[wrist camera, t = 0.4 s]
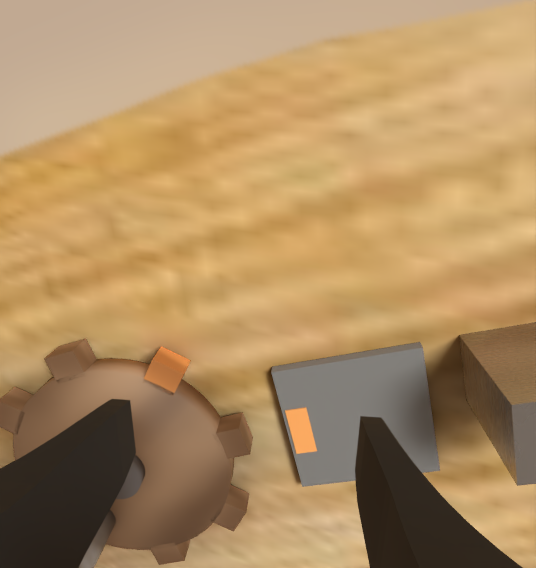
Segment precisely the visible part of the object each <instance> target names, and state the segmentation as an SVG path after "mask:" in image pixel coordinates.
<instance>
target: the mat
mask: <svg viewBox="0 0 536 568" xmlns="http://www.w3.org/2000/svg"><path fill="white" fill-rule="evenodd" d="M271 374H272V377H273V381H274V385H275V388H276V392H277V396H278V399H279V403H280V407H281V410H282V414H283V418H284V421H285V425H286V429H287V432H288V436H289V440H290V443H291V447H292V451H293V454H294V458H295V462H296V465H297V469H298V473H299V476H300V480H301V484H302V487H304V486H313V485H321V484H330V483H338V482H347V481H355V480H356V478H355V464H356V455H357V445H358V436H359V426H360V417H361V416H367V417H381V418H382V419H383V420H384V421H385V423H386V424H387V426H388V427H389V429H390V430H391V432H392V433H393V435H394V436H395V438H396V439H397V441H398V442H399V443H400V445H401V446H402V448H403V449H404V450H405V452H406V453H407V454H408V456H409V457H410V458H411V460H412V461H413V462H414V463H415V465H416V466H417V467H418V469H419V470H420V471H421V472H422V473H423V472H432V471H440V467H439V459H438V452H437V445H436V438H435V431H434V424H433V417H432V410H431V403H430V395H429V388H428V381H427V374H426V367H425V360H424V353H423V347H422V345H421V343H420V342H418V343H412V344H406V345H400V346H394V347H388V348H382V349H376V350H370V351H364V352H358V353H352V354H346V355H340V356H334V357H328V358H322V359H316V360H310V361H304V362H298V363H292V364H286V365H280V366H274V367H272V371H271Z"/></svg>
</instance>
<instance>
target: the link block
mask: <svg viewBox="0 0 536 568" xmlns="http://www.w3.org/2000/svg"><path fill="white" fill-rule="evenodd" d="M459 338H460V347H461V356H462V365H463V374H464V384H465V393H466V400H467V402H468V404H469V405H470V407H471V409H472V410H473V412H474V414H475V415H476V417H477V419H478V420H479V422H480V424H481V425H482V427H483V429H484V430H485V432H486V434H487V436H488V437H489V439H490V441H491V442H492V444H493V446H494V447H495V449H496V451H497V452H498V454H499V456H500V457H501V459H502V461H503V462H504V464H505V466H506V468H507V469H508V471H509V473H510V474H511V476H512V478H513V479H514V481H515V483H516V484H517V486H518V485H527V484H536V322H535V323H529V324H523V325H517V326H511V327H505V328H499V329H493V330H487V331H481V332H475V333H469V334H463V335H459Z"/></svg>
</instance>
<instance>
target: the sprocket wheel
mask: <svg viewBox="0 0 536 568" xmlns="http://www.w3.org/2000/svg"><path fill="white" fill-rule="evenodd" d="M44 360H45V362H46V363H47V365H48V367H49V369H50V371H51V372H52V374H53V376H54V377H52V378H51V379H50V380H49V381H48V382H47V383H46V384H44V385H43V386H42V387H41V388H40V389H39V390H38V391H37V392H36V393H35V394H34V395H32V394H30V393H28V392H26V391H23V390H21V389H19V388H17V387H14V388H13V389H11V390H10V391H9V392H8V393H7V394H6V395H4V396H3V397H2V398H1V399H0V427H1V428H3V429H5V430H7V431H10V432H12V433H14V436H13V449H14V457H15V461H16V460H17V459H19V458H21V457H22V456H24V455H26V454H27V453H29V452H31V451H32V450H34V449H36V448H37V447H39V446H40V445H42V444H44V443H45V442H47V441H49V440H50V439H52V438H53V437H55V436H57V435H58V434H60V433H61V432H63V431H64V430H65V429H67V428H68V427H70V426H71V425H73V424H74V423H76V422H77V421H79V420H80V419H82V418H83V417H85V416H86V415H88V414H89V413H91V412H92V411H94V410H95V409H96V408H98V407H99V406H101V405H103V404H104V403H106V402H107V401H109V400H111V399H122V400H130V403H131V412H132V421H133V430H134V439H135V448H136V454H135V457H134V459H133V462H132V465H131V467H130V470H129V472H128V475H127V477H126V480H125V482H124V484H123V486H122V488H121V490H120V492H119V494H118V496H117V497H116V499H115V501H114V503H113V505H112V507H111V508H110V510H109V512H108V514H107V516H106V517H105V519H104V521H103V523H102V525H101V527H100V528H99V530H98V532H97V534H96V536H95V537H94V539H93V541H92V543H91V545H90V546H89V548H88V550H87V552H86V554H85V556H84V558H83V560H82V562H81V564H80V566H79V568H94V566H95V564H96V562H97V560H98V558H99V556H100V554H101V552H102V550H103V548H104V546H105V544H107V545H111V546H115V547H120V548H126V549H137V550H151V551H152V553H153V555H154V556H155V558H156V560H157V562H158V564H159V565H161V564H167V563H173V562H179V561H184V560H185V557H186V554H187V550H188V547H189V543H190V539H192V538H194V537H196V536H198V535H199V534H200V533H202V532H203V531H205V530H206V529H207V528H208V527H209V526H210V525H211V524H212V523H216V524H218V525H220V526H222V527H225V528H227V529H229V530H231V531H234V530H235V529H236V527H237V526H238V524H239V522H240V521H241V519H242V518H243V516H244V515H245V513H246V510H247V504H248V498H249V493H247V492H245V491H243V490H241V489H239V488H237V487H234V486H232V485H230V484H231V479H232V475H233V467H234V457H239V456H244V455H248V454H250V451H251V445H252V440H253V436H252V434H251V431H250V429H249V426H248V424H247V421H246V419H245V417H244V414H243V412H242V413H237V414H233V415H229V416H224V417H220V415H219V414H218V413H217V411H216V410H215V408H214V407H213V406H212V405H211V404H210V402H209V401H208V400H207V399H206V398H205V397H204V396H203V395H202V394H201V393H200V392H198V391H197V390H196V389H195V388H194V387H193V386H191V385H190V384H188V383H187V382H185V381H184V380H182V377H183V375H184V373H185V371H186V369H187V367H188V365H189V363H190V361H191V360H189V359H187V358H185V357H182V356H180V355H178V354H176V353H174V352H172V351H170V350H168V349H166V348H164V347H161V348H160V349H159V351H158V352H157V353H156V355H155V356H154V358H153V359H152V361H151V364H146V363H143V362H139V361H133V360H127V359H112V358H108V359H96V357H95V355H94V353H93V351H92V349H91V347H90V345H89V344H88V342H87V340H86V339H83V340H79V341H76V342H72V343H69V344H66V345H62V346H59V347H57V348H56V349H55V350H54V351H53V352H52V353H50V354H49V355H48V356H47V357H46V358H44Z"/></svg>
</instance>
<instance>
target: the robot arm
mask: <svg viewBox="0 0 536 568" xmlns="http://www.w3.org/2000/svg"><path fill="white" fill-rule="evenodd" d="M135 454H136V448H135V439H134V430H133V421H132V412H131V403H130V400H122V399H111V400H109V401H107V402H106V403H104V404H103V405H101V406H99V407H98V408H96V409H95V410H94V411H92V412H91V413H89V414H88V415H86V416H85V417H83V418H82V419H80V420H79V421H77V422H76V423H74V424H73V425H71V426H70V427H68V428H67V429H65V430H64V431H63V432H61V433H60V434H58V435H57V436H55V437H53V438H52V439H50V440H49V441H47V442H45V443H44V444H42V445H40V446H39V447H37V448H36V449H34V450H32V451H31V452H29V453H27V454H26V455H24V456H22V457H21V458H19V459H17V460H16V461H14V462H12V463H10V464H8V465H6V466H5V467H3V468H1V469H0V568H79V566H80V564H81V562H82V560H83V558H84V556H85V554H86V552H87V550H88V548H89V546H90V545H91V543H92V541H93V539H94V537H95V536H96V534H97V532H98V530H99V528H100V527H101V525H102V523H103V521H104V519H105V517H106V516H107V514H108V512H109V510H110V508H111V507H112V505H113V503H114V501H115V499H116V497H117V496H118V494H119V492H120V490H121V488H122V486H123V484H124V482H125V480H126V477H127V475H128V472H129V470H130V467H131V465H132V462H133V459H134V457H135ZM355 478H356V491H357V502H358V508H359V513H360V518H361V524H362V529H363V534H364V539H365V544H366V549H367V554H368V559H369V564H370V568H522V567H521V566H520V565H518V564H517V563H516V562H514V561H513V560H512V559H511V558H509V557H508V556H507V555H505V554H504V553H503V552H502V551H500V550H499V549H498V548H497V547H496V546H494V545H493V544H492V543H491V542H490V541H489V540H487V539H486V538H485V537H484V536H483V535H482V534H480V533H479V532H478V531H477V530H476V529H475V528H474V527H473V526H471V525H470V524H469V523H468V522H467V521H466V520H465V519H464V518H463V517H462V516H461V515H460V514H459V513H458V512H457V511H456V510H455V509H454V508H453V507H452V506H451V505H450V504H449V503H448V502H447V501H446V500H445V499H444V498H443V497H442V496H441V495H440V493H439V492H438V491H437V490H436V489H435V488H434V487H433V485H432V484H431V483H430V482H429V481H428V480H427V478H426V477H425V476H424V475H423V474H422V472H421V471H420V470H419V469H418V467H417V466H416V465H415V463H414V462H413V461H412V460H411V458H410V457H409V456H408V454H407V453H406V452H405V450H404V449H403V448H402V446H401V445H400V443H399V442H398V441H397V439H396V438H395V436H394V435H393V433H392V432H391V430H390V429H389V427H388V426H387V424H386V423H385V421H384V420H383V419H382V418H381V417H367V416H361V417H360V426H359V436H358V445H357V455H356V464H355Z"/></svg>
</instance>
